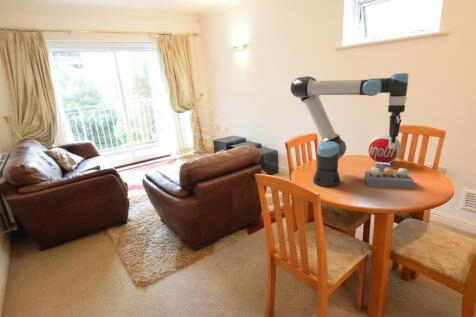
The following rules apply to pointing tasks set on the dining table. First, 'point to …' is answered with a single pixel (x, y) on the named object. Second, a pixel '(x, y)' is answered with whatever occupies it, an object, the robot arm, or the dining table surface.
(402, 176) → the pale green egg
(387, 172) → the peach egg
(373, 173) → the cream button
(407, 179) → the grey slotted tray
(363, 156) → the dining table surface
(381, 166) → the medicine box
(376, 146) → the red logo ball
